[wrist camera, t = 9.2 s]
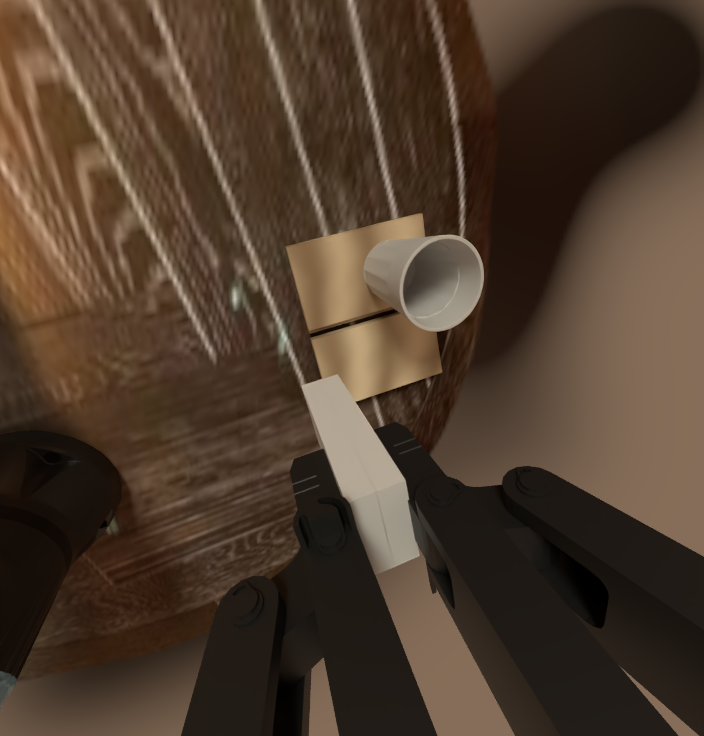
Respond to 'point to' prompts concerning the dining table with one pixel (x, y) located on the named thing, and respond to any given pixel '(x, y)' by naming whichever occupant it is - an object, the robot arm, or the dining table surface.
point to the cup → (427, 279)
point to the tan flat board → (343, 272)
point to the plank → (377, 355)
